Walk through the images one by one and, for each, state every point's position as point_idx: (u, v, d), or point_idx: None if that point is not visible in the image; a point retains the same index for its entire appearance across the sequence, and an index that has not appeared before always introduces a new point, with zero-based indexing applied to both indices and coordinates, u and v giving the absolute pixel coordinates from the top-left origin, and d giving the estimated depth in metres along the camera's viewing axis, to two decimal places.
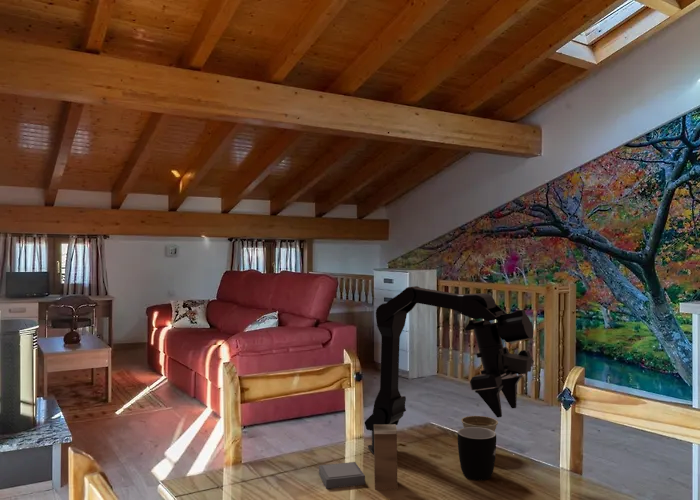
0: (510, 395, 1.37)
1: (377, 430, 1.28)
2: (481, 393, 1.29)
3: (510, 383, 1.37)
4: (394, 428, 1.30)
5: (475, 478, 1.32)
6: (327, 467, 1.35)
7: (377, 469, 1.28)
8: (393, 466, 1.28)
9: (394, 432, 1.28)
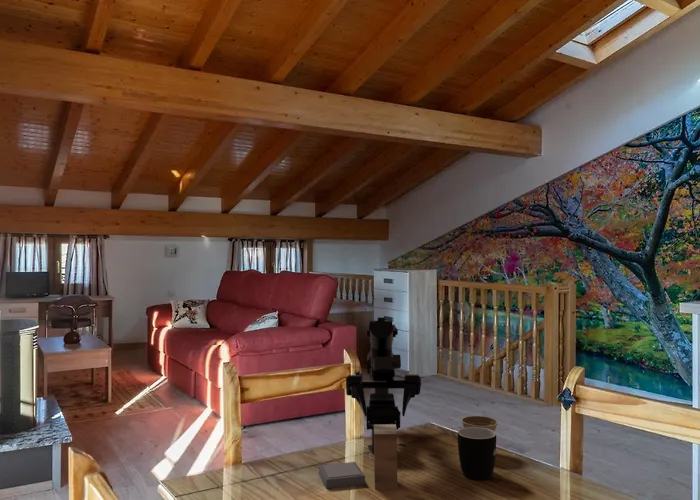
0: None
1: (377, 430, 1.28)
2: (357, 398, 1.44)
3: None
4: (394, 428, 1.30)
5: (475, 478, 1.32)
6: (327, 467, 1.35)
7: (377, 469, 1.28)
8: (393, 466, 1.28)
9: (394, 432, 1.28)
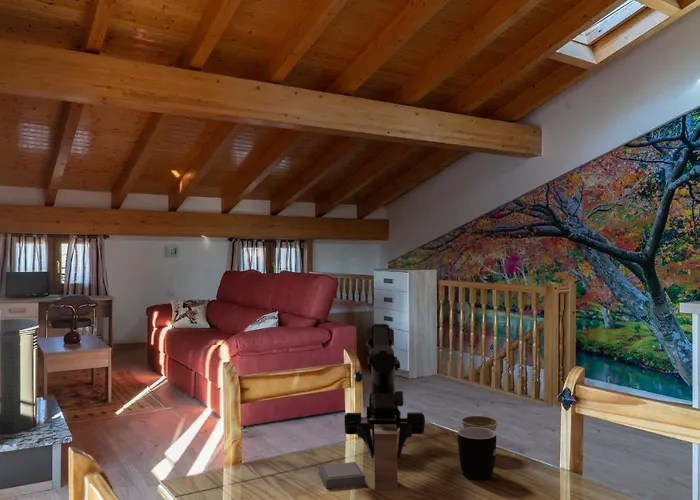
0: None
1: (377, 430, 1.28)
2: (363, 437, 1.34)
3: None
4: (394, 428, 1.30)
5: (475, 478, 1.32)
6: (327, 467, 1.35)
7: (377, 469, 1.28)
8: (394, 466, 1.27)
9: (394, 432, 1.28)
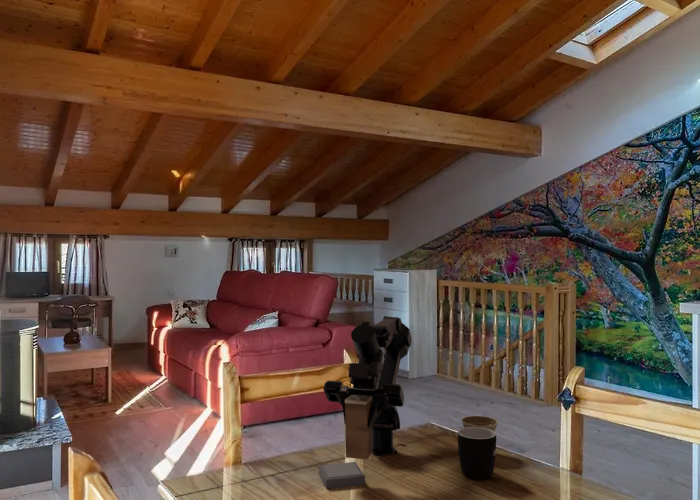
0: None
1: (348, 400, 1.30)
2: None
3: None
4: (366, 399, 1.31)
5: (475, 478, 1.32)
6: (327, 467, 1.35)
7: (348, 438, 1.30)
8: (363, 436, 1.29)
9: (363, 402, 1.29)
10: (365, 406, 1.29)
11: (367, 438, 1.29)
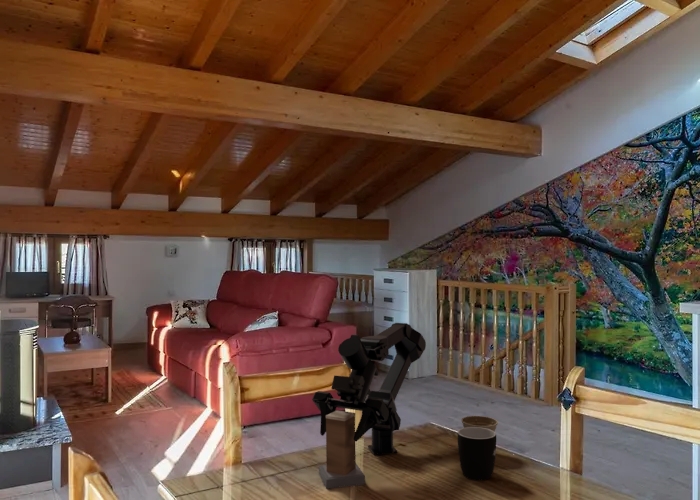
0: None
1: (329, 415, 1.33)
2: None
3: None
4: (347, 415, 1.32)
5: (475, 478, 1.32)
6: None
7: (328, 453, 1.32)
8: (342, 452, 1.31)
9: (342, 419, 1.31)
10: (344, 423, 1.31)
11: (346, 454, 1.31)
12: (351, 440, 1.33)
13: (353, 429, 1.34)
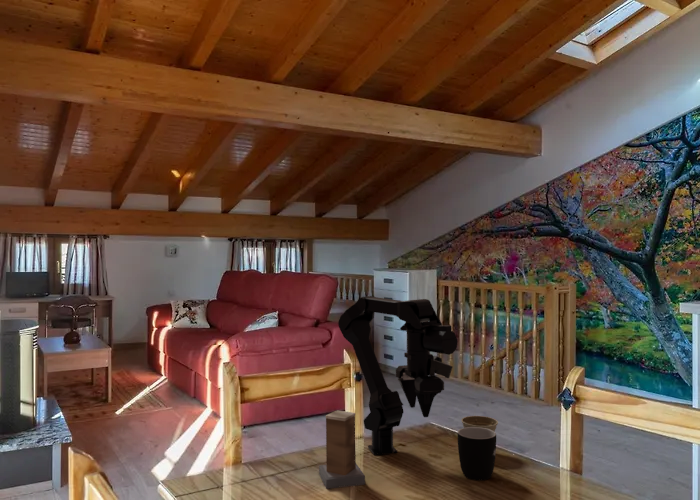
0: (412, 395, 1.47)
1: (329, 415, 1.33)
2: (420, 394, 1.36)
3: (413, 384, 1.48)
4: (347, 415, 1.32)
5: (475, 478, 1.32)
6: None
7: (328, 453, 1.32)
8: (342, 452, 1.31)
9: (342, 419, 1.31)
10: (344, 423, 1.31)
11: (346, 454, 1.31)
12: (351, 440, 1.33)
13: (353, 429, 1.34)
